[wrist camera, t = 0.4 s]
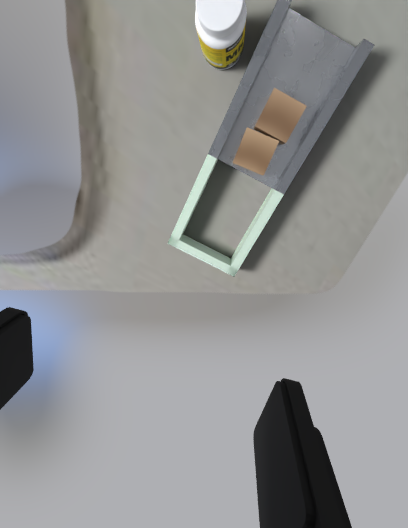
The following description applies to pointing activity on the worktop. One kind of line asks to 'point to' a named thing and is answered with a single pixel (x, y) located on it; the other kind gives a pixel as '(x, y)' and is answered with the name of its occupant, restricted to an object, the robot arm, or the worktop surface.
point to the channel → (290, 89)
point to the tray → (205, 252)
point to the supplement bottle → (221, 30)
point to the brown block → (279, 116)
